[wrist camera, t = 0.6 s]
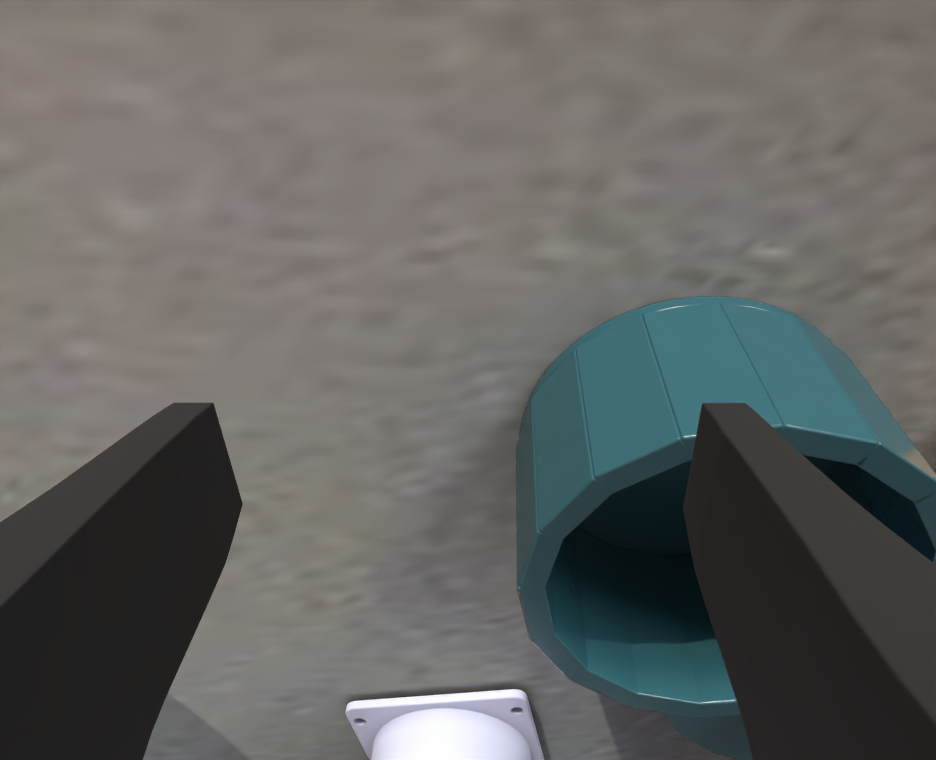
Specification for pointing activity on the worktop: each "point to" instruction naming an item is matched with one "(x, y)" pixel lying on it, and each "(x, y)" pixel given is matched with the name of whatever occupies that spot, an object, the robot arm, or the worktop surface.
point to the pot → (678, 484)
